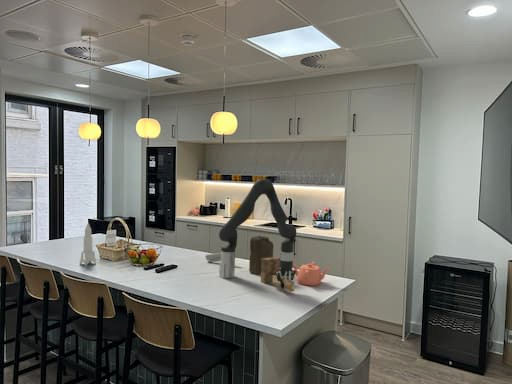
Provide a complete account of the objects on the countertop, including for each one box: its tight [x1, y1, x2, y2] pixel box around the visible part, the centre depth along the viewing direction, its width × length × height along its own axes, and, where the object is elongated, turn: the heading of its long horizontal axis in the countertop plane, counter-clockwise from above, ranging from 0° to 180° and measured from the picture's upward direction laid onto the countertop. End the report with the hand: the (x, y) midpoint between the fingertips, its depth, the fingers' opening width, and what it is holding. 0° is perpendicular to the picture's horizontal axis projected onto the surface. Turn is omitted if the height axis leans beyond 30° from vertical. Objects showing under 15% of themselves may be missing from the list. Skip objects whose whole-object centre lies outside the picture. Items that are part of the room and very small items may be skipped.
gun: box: [204, 252, 237, 263], centre depth 280 cm, size 2×25×10 cm, turn 66°
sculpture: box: [79, 222, 97, 267], centre depth 266 cm, size 7×8×30 cm
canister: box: [248, 235, 274, 275], centre depth 262 cm, size 19×8×25 cm, turn 142°
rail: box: [272, 275, 295, 293], centre depth 221 cm, size 4×17×5 cm, turn 34°
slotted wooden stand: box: [260, 256, 281, 286], centre depth 237 cm, size 13×10×15 cm
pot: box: [293, 261, 330, 287], centre depth 239 cm, size 18×17×12 cm
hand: (285, 287), depth 219 cm, fingers closed on rail, 3 cm apart
